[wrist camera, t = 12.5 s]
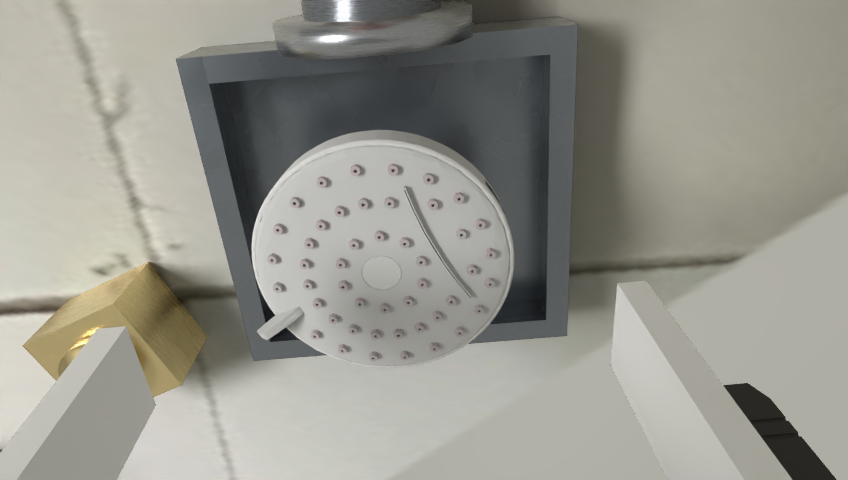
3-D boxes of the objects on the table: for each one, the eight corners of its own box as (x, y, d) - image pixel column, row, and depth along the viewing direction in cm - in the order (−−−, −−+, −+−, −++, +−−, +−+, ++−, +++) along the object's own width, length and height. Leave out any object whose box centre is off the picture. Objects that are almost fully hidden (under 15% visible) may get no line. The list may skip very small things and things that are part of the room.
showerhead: (171, 240, 19) (435, 95, 17) (236, 163, 26) (434, 50, 23) (327, 424, 23) (561, 326, 21) (350, 317, 30) (531, 233, 27)
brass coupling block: (131, 369, 32) (87, 433, 27) (69, 298, 30) (11, 356, 25) (208, 335, 31) (175, 396, 27) (149, 260, 29) (104, 313, 25)
